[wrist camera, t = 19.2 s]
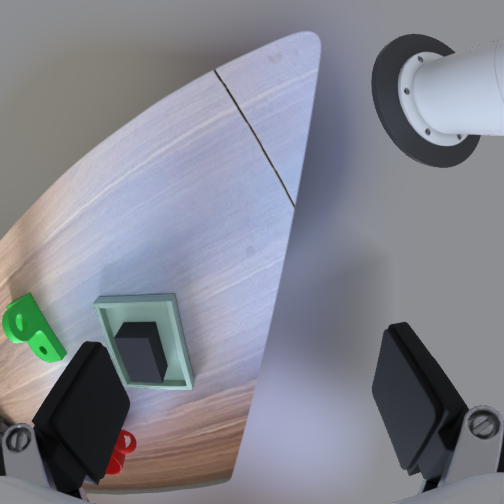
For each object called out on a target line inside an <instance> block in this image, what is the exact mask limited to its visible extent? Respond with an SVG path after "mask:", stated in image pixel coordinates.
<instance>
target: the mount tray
mask: <svg viewBox="0 0 504 504" xmlns="http://www.w3.org/2000/svg"><path fill="white" fill-rule="evenodd" d="M93 305H94V308H95V311H96V314H97V317H98V321H99V324H100V326H101V329H102V332H103V335H104V338H105V341H106V343H107V346H108V349H109V351H110V354H111V357H112V359H113V362H114V364H115V367H116V369H117V372H118V374H119V376H120V379H121V381H122V383H123V386H124V387H129V388H144V389H172V390H193V387H194V377H193V373H192V369H191V365H190V361H189V357H188V353H187V348H186V344H185V340H184V335H183V331H182V326H181V322H180V317H179V312H178V307H177V302H176V297H175V294H157V295H134V296H104V297H98V298H97V299H96V301H95V302H94V303H93ZM123 322H156V325H157V328H158V332H159V336H160V340H161V343H162V347H163V350H164V354H165V357H166V361H167V364H168V367H167V371H166V374H165V377H164V381H163V383H143V382H131V381H130V378H129V376H128V373H127V371H126V368H125V366H124V363H123V361H122V358H121V355H120V353H119V350H118V347H117V344H116V341H115V339H114V337H115V335H116V334H117V332H118V330H119V329H120V327H121V326H122V324H123Z"/></svg>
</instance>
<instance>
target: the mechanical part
mask: <svg viewBox="0 0 504 504" xmlns="http://www.w3.org/2000/svg"><path fill="white" fill-rule="evenodd" d="M6 308H7V311H6V312H5V313H4V315H3V319H2V325H3V330H4V332H5V334H6V336H7V337H8V338H9V339H10V340H11V341H12V342H14V343H22V342H25V341H27V343H28V344H29V346H30V347H31V349H32V350H33V352H34V353H35V354H36V355H37V356H38V357H39V358H40V359H42V360H43V361H46V362H55V361H59V360H62V359H63V358H64V356H65V355H66V354H67V353H66V351H65V350H64V348H63V347H62V345H61V344H60V342H59V341H58V339H57V338H56V336H55V335H54V333H53V331H52V330H51V328H50V327H49V325H48V323H47V322H46V320H45V318H44V317H43V315H42V313H41V312H40V310H39V308H38V306H37V305H36V303H35V301H34V299H33V297H32V296H31V294H30V293H29V294H27V295H25V296H23V297H21V298H19V299H17V300H15V301H13V302H11V303H10V304H9V305H8V306H7V307H6ZM18 328H19V329H18Z"/></svg>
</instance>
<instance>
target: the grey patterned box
mask: <svg viewBox="0 0 504 504" xmlns="http://www.w3.org/2000/svg"><path fill="white" fill-rule="evenodd" d="M11 426H13V425H12V424H11V423H10V422H8V421H7V420H6V419H5V418H3V417H2V416H1V415H0V447H1V446H2V438H3V435H4V433H5V432H6V431H7V429H9V428H10V427H11Z"/></svg>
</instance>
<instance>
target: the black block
mask: <svg viewBox="0 0 504 504" xmlns="http://www.w3.org/2000/svg"><path fill="white" fill-rule="evenodd" d="M114 339H115V341H116V344H117V347H118V350H119V353H120V355H121V358H122V361H123V363H124V366H125V368H126V371H127V373H128V376H129V378H130V381H131V382H143V383H163V381H164V377H165V374H166V371H167V367H168V364H167V361H166V357H165V354H164V350H163V347H162V343H161V340H160V336H159V332H158V328H157V325H156V322H123V324H122V326H121V327H120V329H119V330H118V332H117V334H116V335H115V337H114Z"/></svg>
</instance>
